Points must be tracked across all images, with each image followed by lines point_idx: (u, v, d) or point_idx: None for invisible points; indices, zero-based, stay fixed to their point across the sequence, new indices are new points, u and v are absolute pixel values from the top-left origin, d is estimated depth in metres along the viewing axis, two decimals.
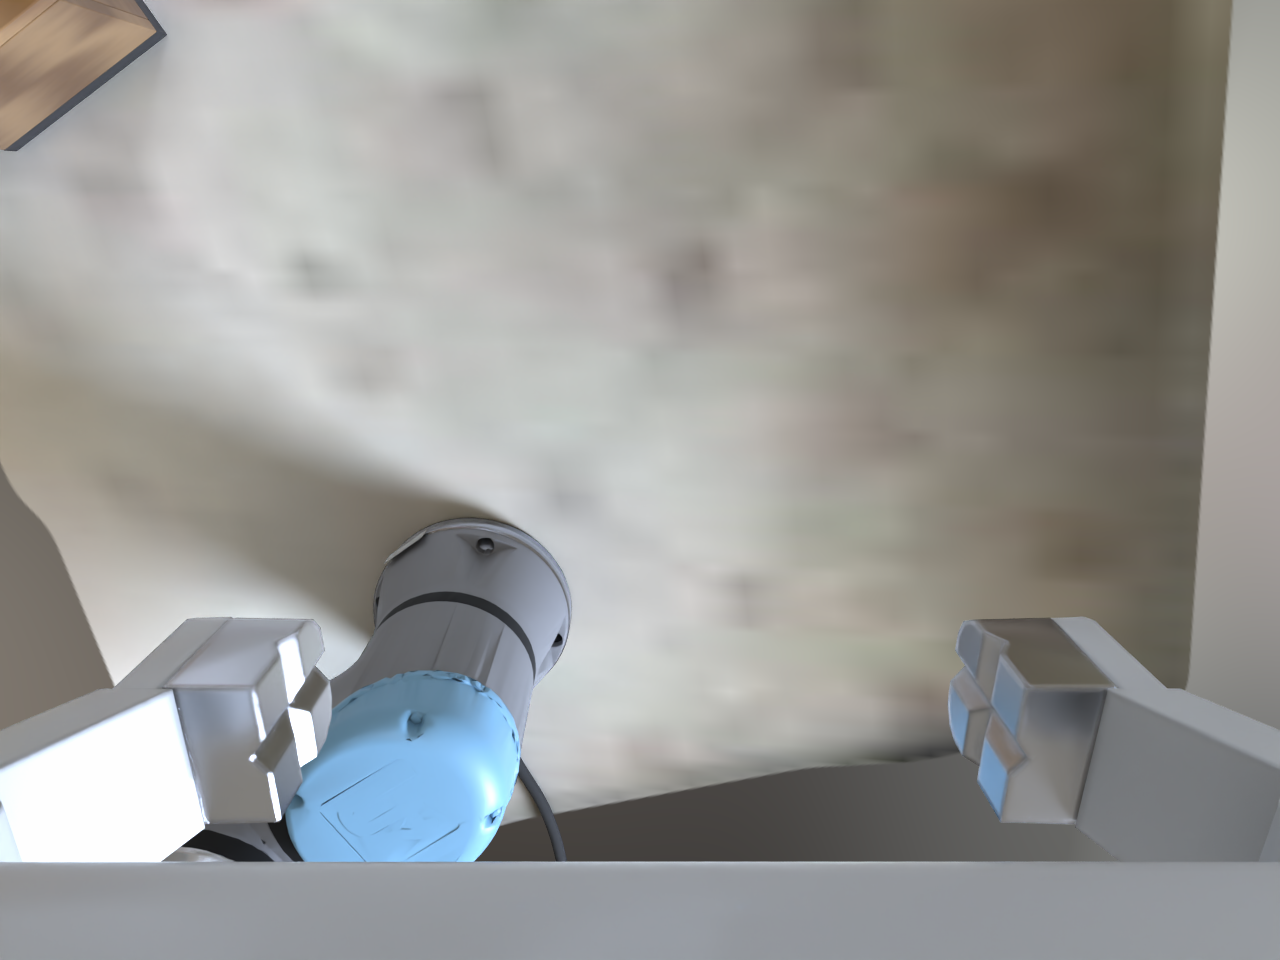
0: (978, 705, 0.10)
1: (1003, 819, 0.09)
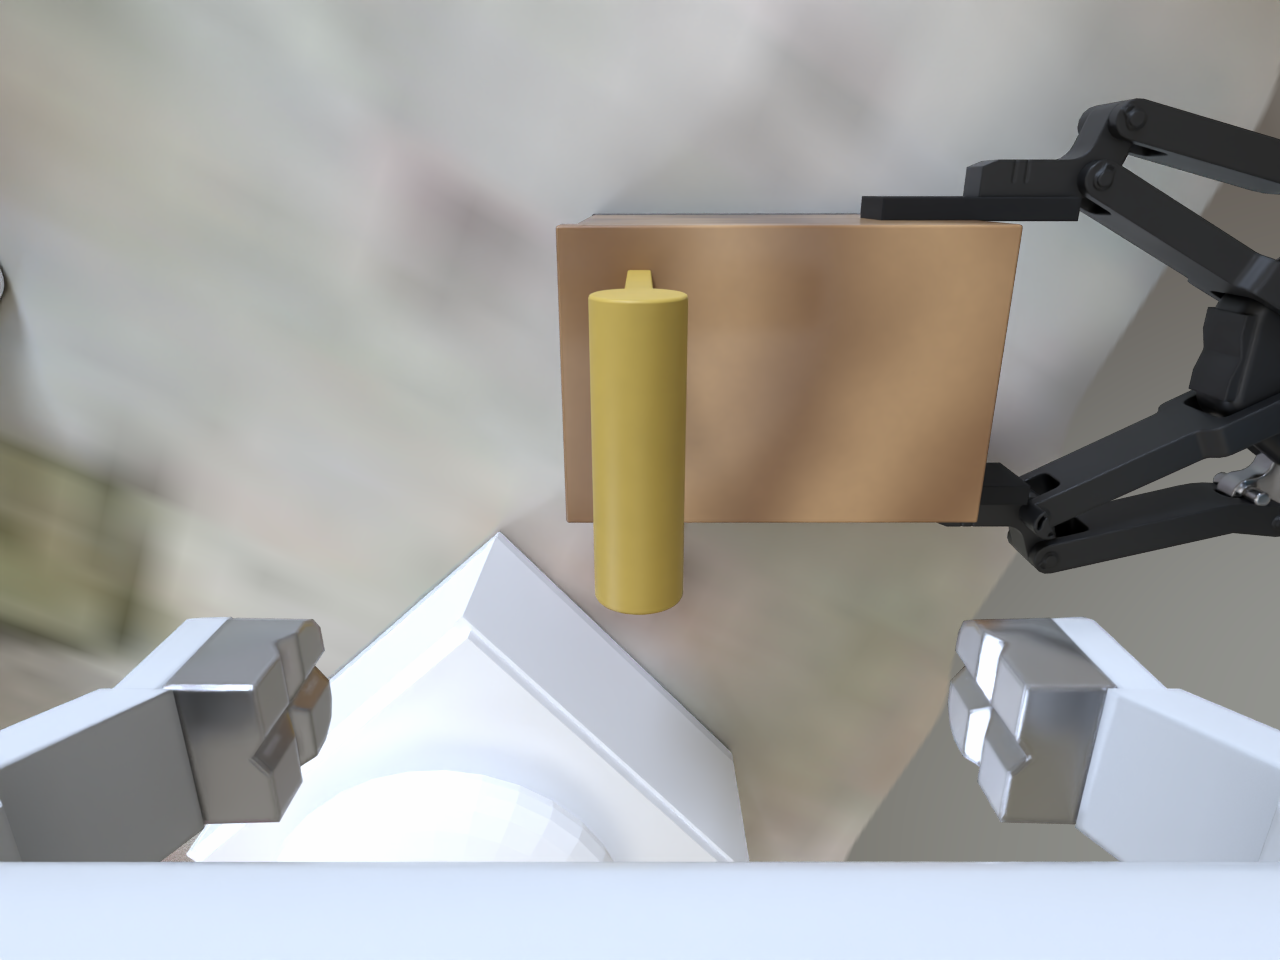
0: (978, 706, 0.10)
1: (1003, 820, 0.09)
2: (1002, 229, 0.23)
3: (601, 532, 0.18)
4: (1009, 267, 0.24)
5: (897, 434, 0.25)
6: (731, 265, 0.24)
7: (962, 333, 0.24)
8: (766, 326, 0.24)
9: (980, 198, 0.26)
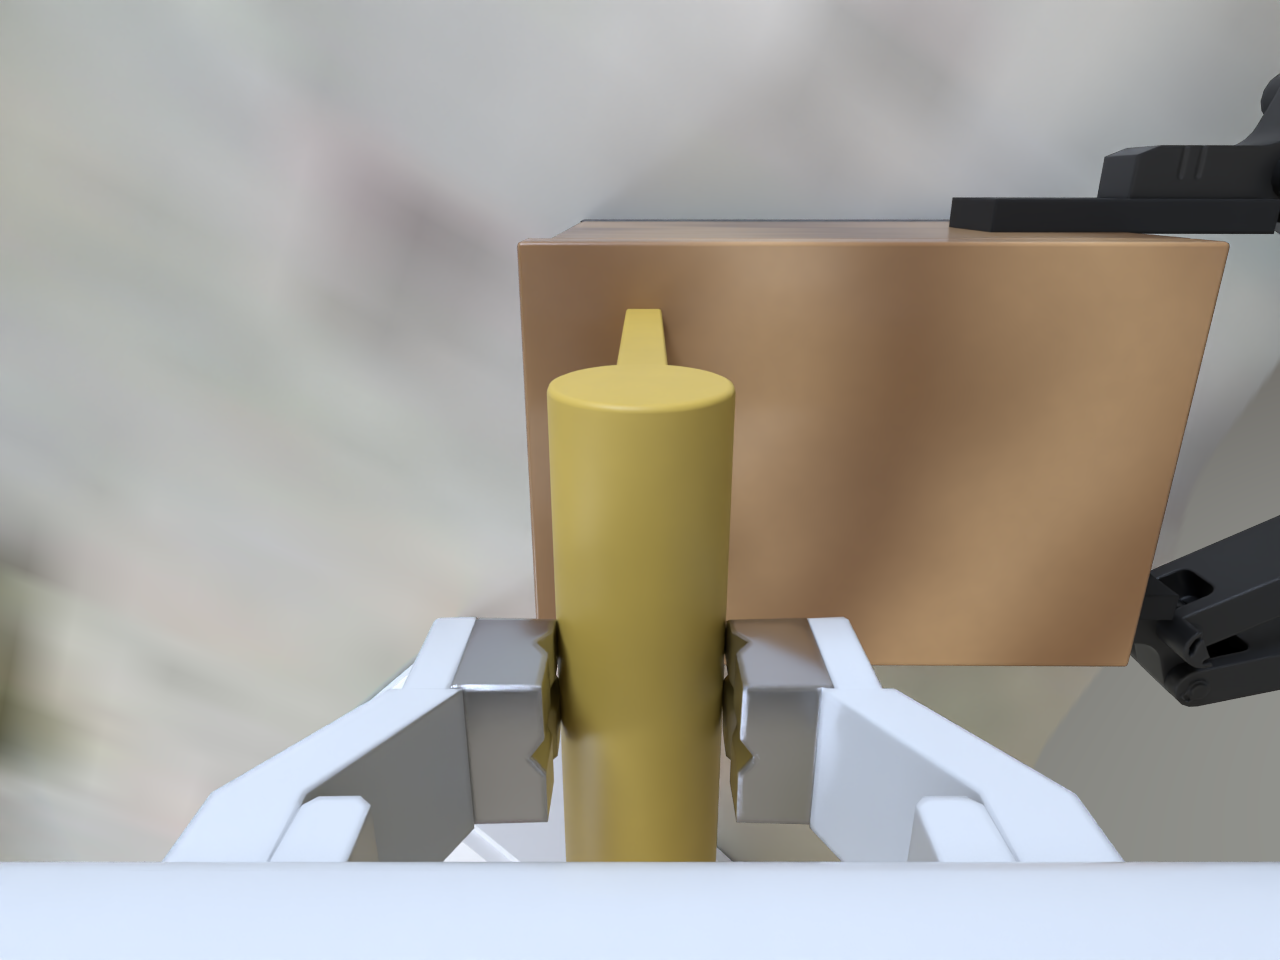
0: None
1: (740, 819, 0.09)
2: (1199, 249, 0.15)
3: (574, 795, 0.10)
4: (1204, 306, 0.16)
5: (1019, 546, 0.17)
6: (783, 302, 0.16)
7: (1126, 403, 0.16)
8: (833, 392, 0.16)
9: (1135, 201, 0.18)
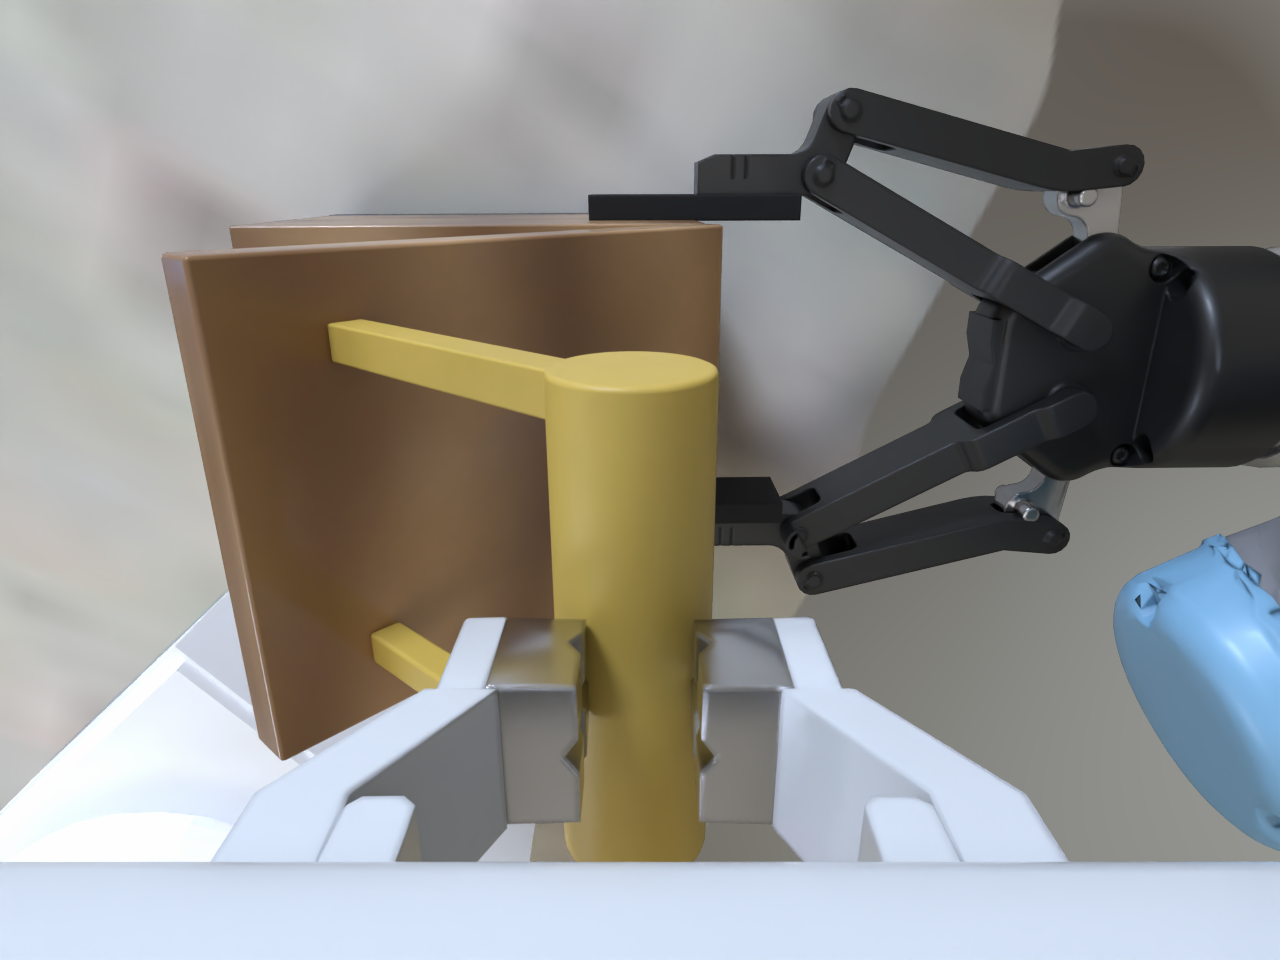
0: None
1: (703, 819, 0.09)
2: (710, 230, 0.21)
3: (626, 778, 0.11)
4: (717, 271, 0.22)
5: None
6: (469, 298, 0.16)
7: (690, 348, 0.22)
8: None
9: (693, 196, 0.24)
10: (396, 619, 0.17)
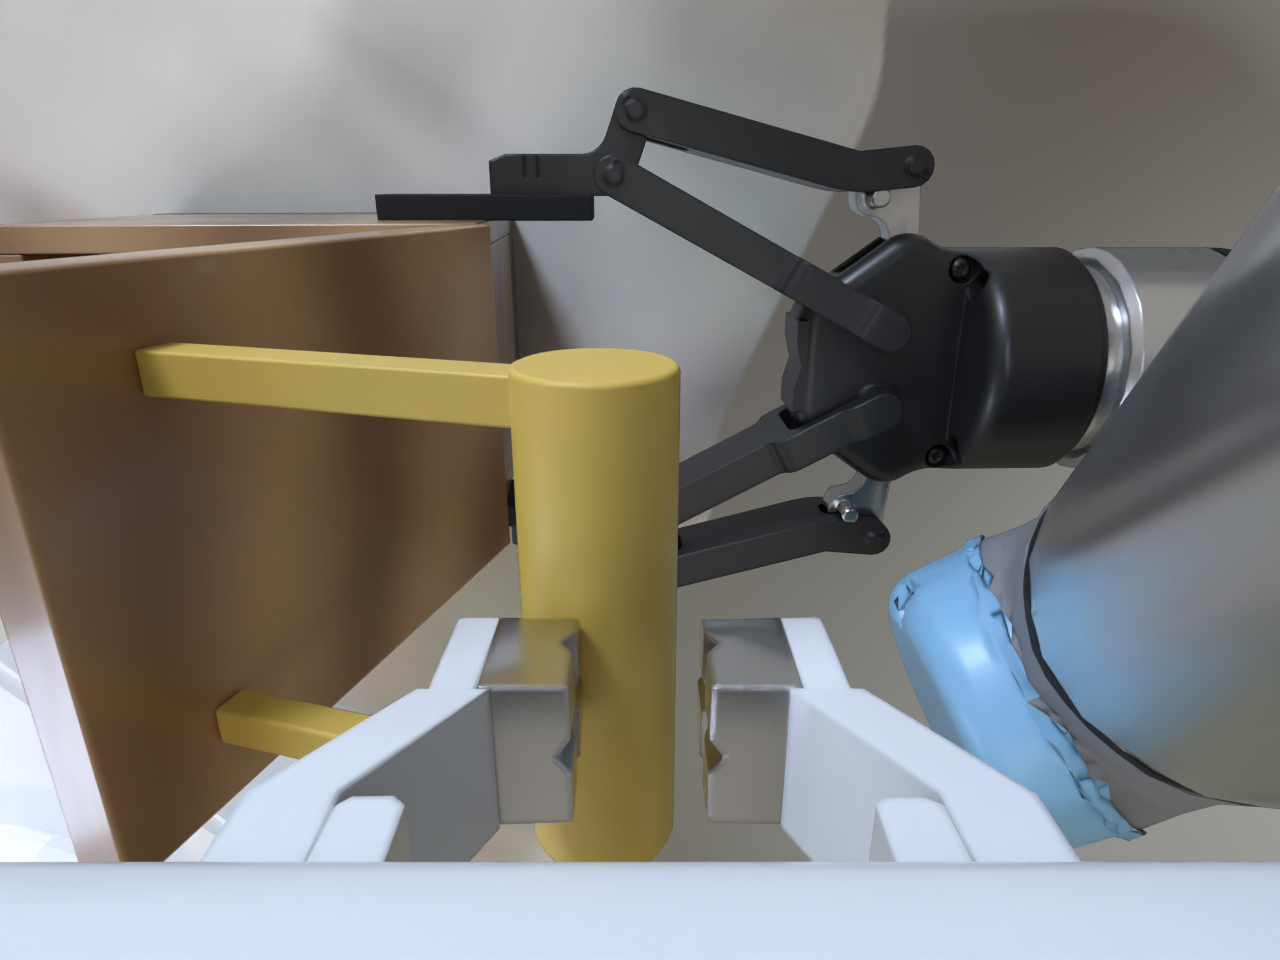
0: None
1: (711, 819, 0.09)
2: (481, 230, 0.21)
3: (626, 764, 0.11)
4: (489, 271, 0.22)
5: (454, 483, 0.21)
6: (278, 310, 0.14)
7: (475, 350, 0.21)
8: None
9: (482, 196, 0.24)
10: (239, 687, 0.14)
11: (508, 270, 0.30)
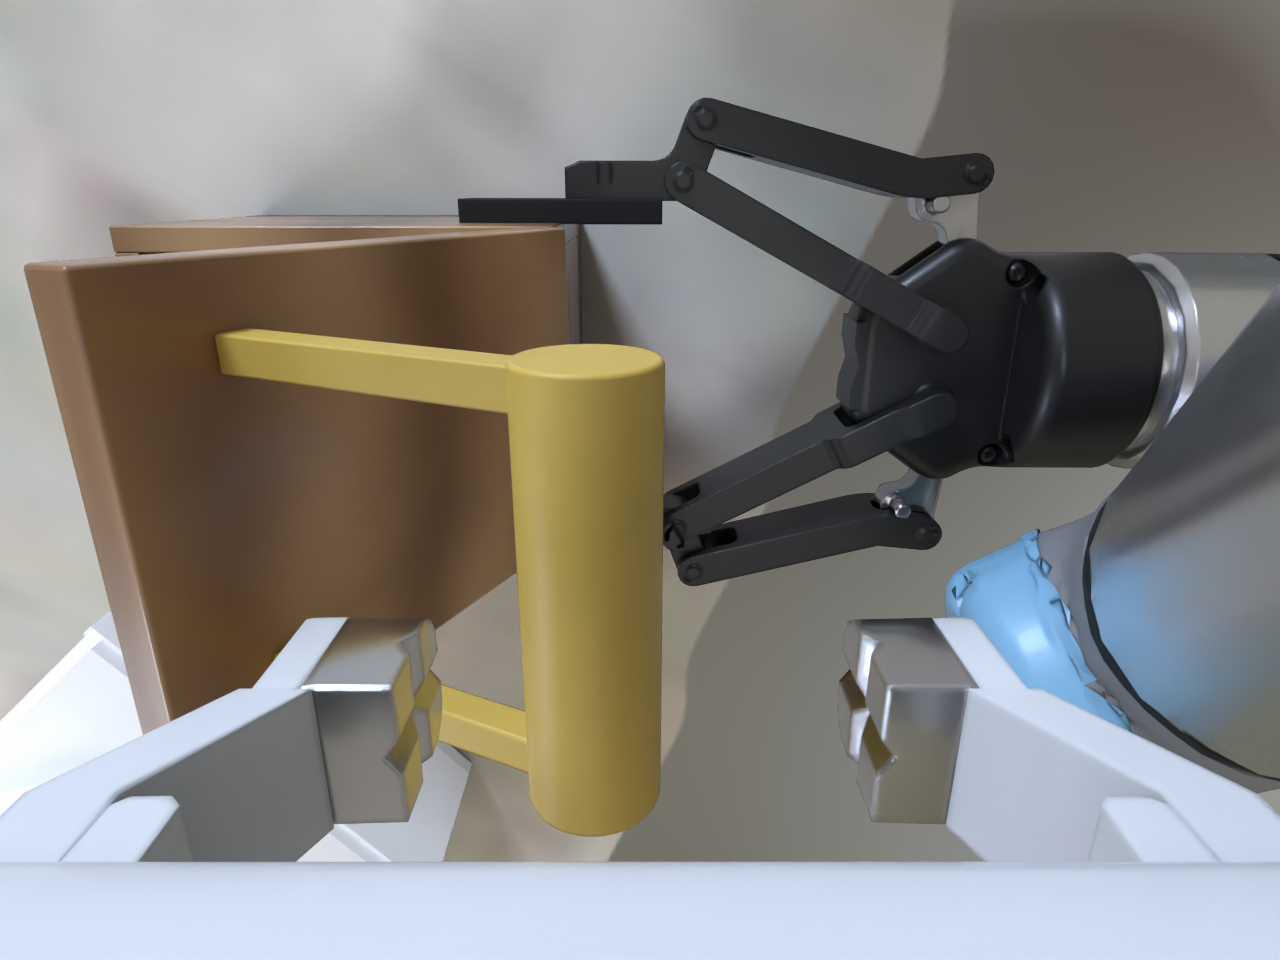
0: (859, 705, 0.10)
1: (875, 820, 0.09)
2: (555, 233, 0.22)
3: (603, 733, 0.12)
4: (563, 271, 0.23)
5: None
6: (348, 303, 0.16)
7: (545, 346, 0.23)
8: None
9: (558, 200, 0.25)
10: None
11: (576, 271, 0.31)
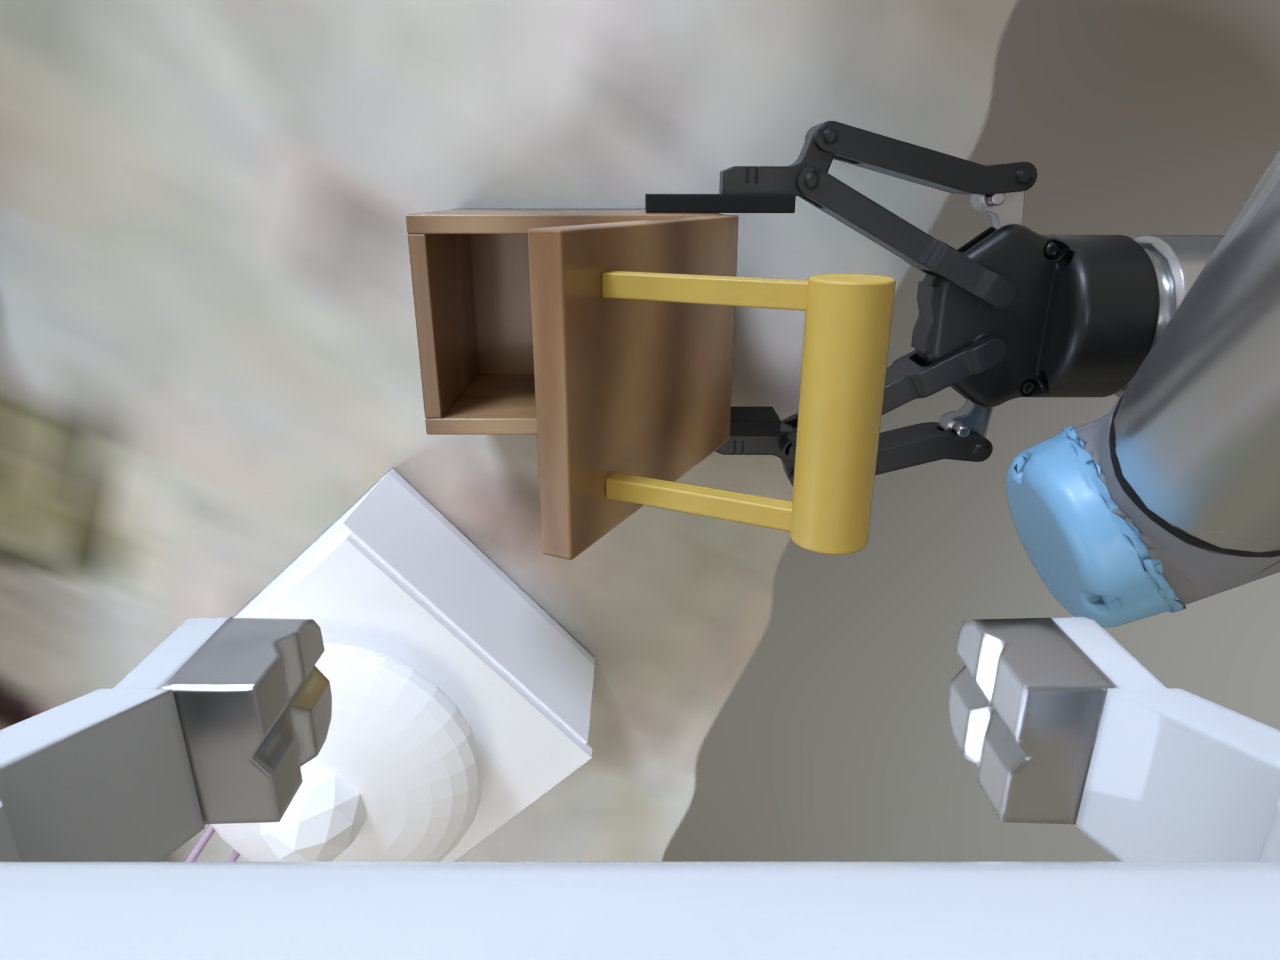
0: (978, 705, 0.10)
1: (1003, 819, 0.09)
2: (734, 219, 0.31)
3: (851, 488, 0.21)
4: (735, 246, 0.32)
5: (707, 386, 0.32)
6: (647, 260, 0.25)
7: None
8: (662, 313, 0.27)
9: (719, 195, 0.35)
10: (614, 470, 0.25)
11: None
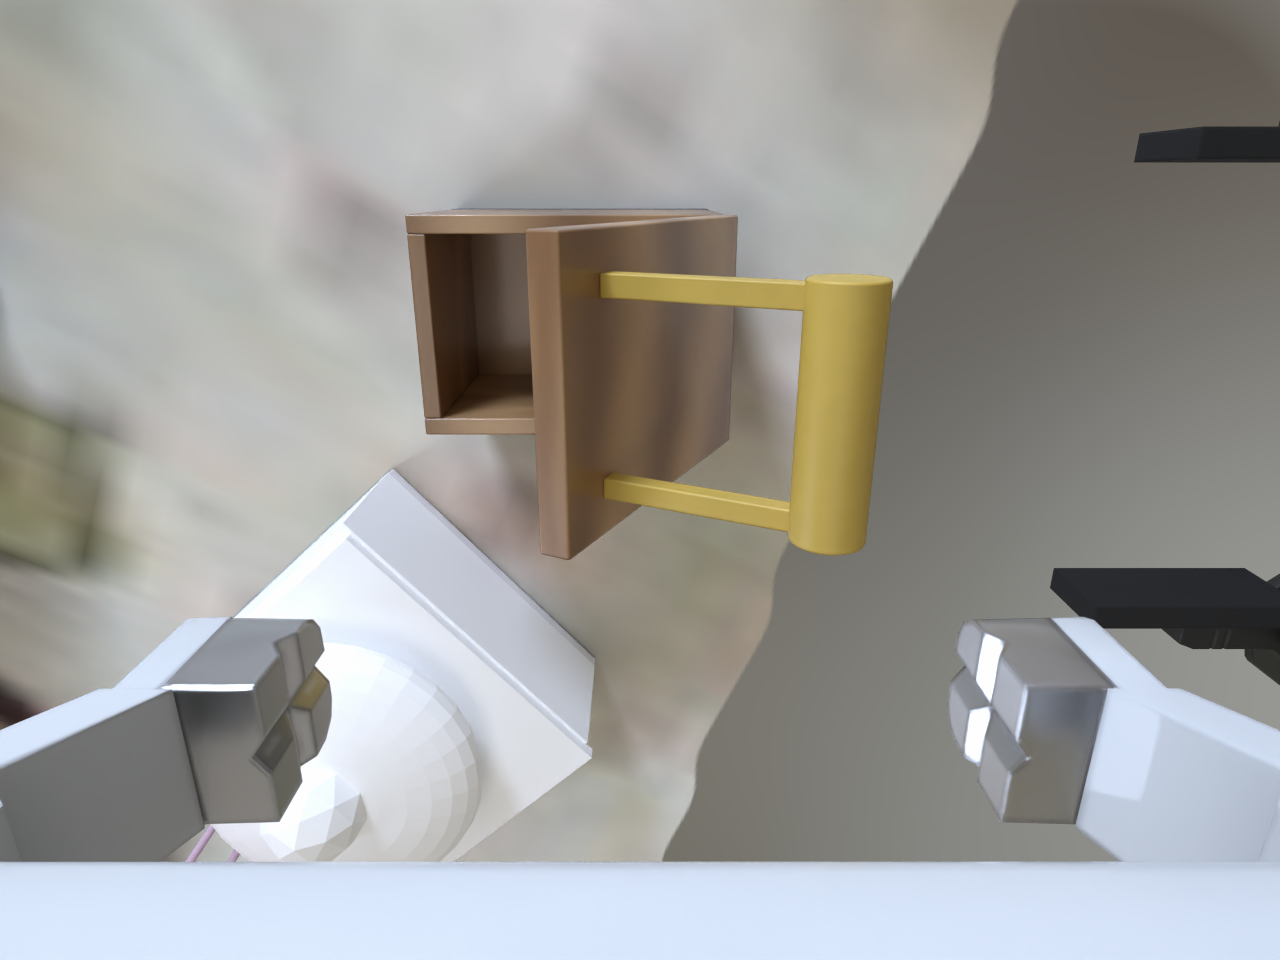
0: (978, 705, 0.10)
1: (1003, 819, 0.09)
2: (733, 219, 0.31)
3: (848, 489, 0.21)
4: (734, 246, 0.32)
5: (706, 386, 0.32)
6: (646, 260, 0.25)
7: None
8: (661, 313, 0.27)
9: None
10: (612, 471, 0.25)
11: None
